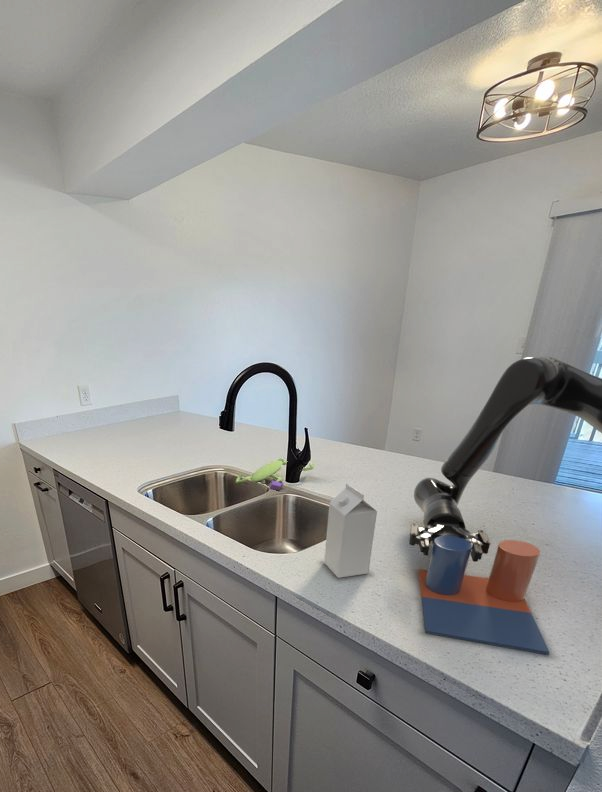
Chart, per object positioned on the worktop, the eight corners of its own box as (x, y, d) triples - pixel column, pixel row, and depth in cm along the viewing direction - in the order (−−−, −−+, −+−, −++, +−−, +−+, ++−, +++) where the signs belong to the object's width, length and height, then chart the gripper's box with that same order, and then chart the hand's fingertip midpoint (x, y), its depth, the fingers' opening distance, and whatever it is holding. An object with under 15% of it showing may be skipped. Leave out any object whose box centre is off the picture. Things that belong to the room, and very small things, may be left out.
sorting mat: (516, 584, 88) (516, 581, 88) (548, 654, 70) (549, 652, 70) (418, 571, 95) (419, 569, 95) (425, 633, 77) (425, 630, 76)
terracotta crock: (520, 586, 87) (535, 542, 82) (528, 604, 81) (545, 558, 77) (483, 581, 89) (495, 538, 84) (489, 598, 84) (502, 553, 79)
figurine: (321, 477, 153) (322, 461, 151) (268, 496, 139) (268, 480, 137) (281, 466, 167) (282, 452, 164) (229, 483, 152) (229, 467, 150)
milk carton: (352, 558, 101) (362, 481, 93) (368, 574, 95) (380, 492, 86) (323, 563, 100) (330, 485, 92) (338, 578, 94) (346, 496, 85)
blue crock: (458, 580, 90) (469, 537, 85) (462, 597, 84) (474, 552, 80) (423, 576, 92) (432, 534, 87) (425, 592, 87) (435, 548, 82)
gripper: (410, 502, 98) (414, 532, 85) (483, 508, 93) (499, 541, 80) (405, 532, 101) (407, 565, 88) (475, 539, 96) (489, 576, 83)
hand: (451, 554), depth 84 cm, fingers open, 8 cm apart
